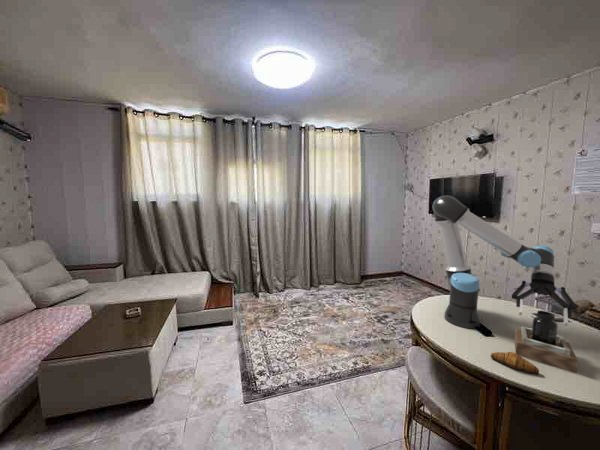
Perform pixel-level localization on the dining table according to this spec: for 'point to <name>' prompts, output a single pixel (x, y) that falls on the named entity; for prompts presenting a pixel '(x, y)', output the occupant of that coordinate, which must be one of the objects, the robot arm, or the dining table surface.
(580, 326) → the dining table surface
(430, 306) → the dining table surface
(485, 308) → the dining table surface
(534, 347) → the walnut tray
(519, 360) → the croissant
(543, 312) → the supplement bottle
